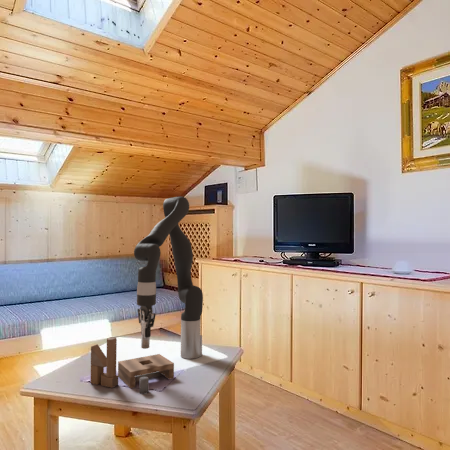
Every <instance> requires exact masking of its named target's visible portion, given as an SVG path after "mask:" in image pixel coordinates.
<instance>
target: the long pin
mask: <svg viewBox="0 0 450 450" xmlns="http://www.w3.org/2000/svg"><path fill="white" fill-rule="evenodd" d="M146 320H148V319H146ZM150 338H151V336H150V337H147V338H146V337H145V322H143V320H142V335H141V339H140V340H141V341H140V343H141V345H140V346H141V347H140V348H141V349H144V350H145V349H149V348H150V342H151V341H150Z"/></svg>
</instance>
